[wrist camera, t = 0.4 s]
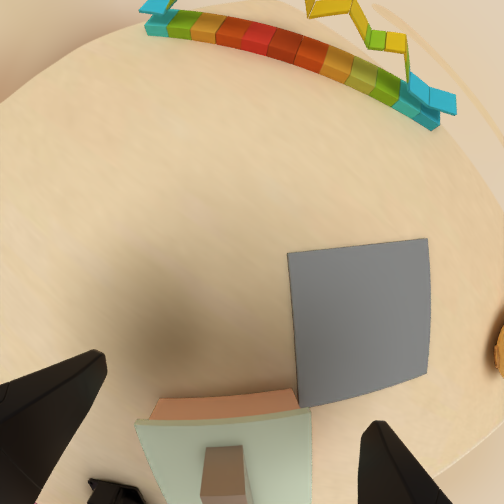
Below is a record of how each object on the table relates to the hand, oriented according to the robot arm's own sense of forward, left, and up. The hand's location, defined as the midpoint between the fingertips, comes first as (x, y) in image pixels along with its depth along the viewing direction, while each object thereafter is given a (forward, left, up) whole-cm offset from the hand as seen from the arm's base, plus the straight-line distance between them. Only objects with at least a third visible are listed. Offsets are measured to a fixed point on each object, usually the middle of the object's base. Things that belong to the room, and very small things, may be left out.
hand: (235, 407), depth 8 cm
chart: (+23, -8, -14) cm, 28 cm away
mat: (-2, -11, -13) cm, 17 cm away
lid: (-12, +2, -9) cm, 15 cm away
